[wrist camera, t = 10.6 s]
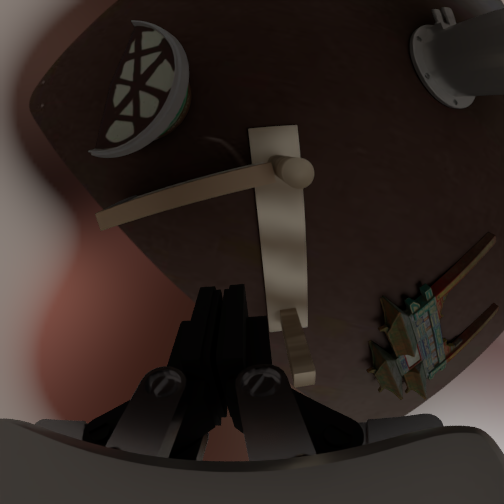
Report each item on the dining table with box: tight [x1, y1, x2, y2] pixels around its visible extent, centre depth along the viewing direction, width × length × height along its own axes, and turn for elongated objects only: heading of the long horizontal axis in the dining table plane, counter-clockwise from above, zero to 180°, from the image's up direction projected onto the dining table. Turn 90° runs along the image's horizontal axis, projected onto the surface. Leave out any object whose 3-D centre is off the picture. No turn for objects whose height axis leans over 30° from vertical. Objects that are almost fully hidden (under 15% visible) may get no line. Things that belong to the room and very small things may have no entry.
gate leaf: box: [95, 162, 276, 231], centre depth 24 cm, size 15×2×7 cm, turn 103°
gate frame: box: [248, 125, 316, 388], centre depth 25 cm, size 24×5×12 cm, turn 6°
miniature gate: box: [367, 232, 499, 400], centre depth 35 cm, size 27×6×30 cm
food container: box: [88, 20, 192, 158], centre depth 20 cm, size 12×6×10 cm, turn 163°
